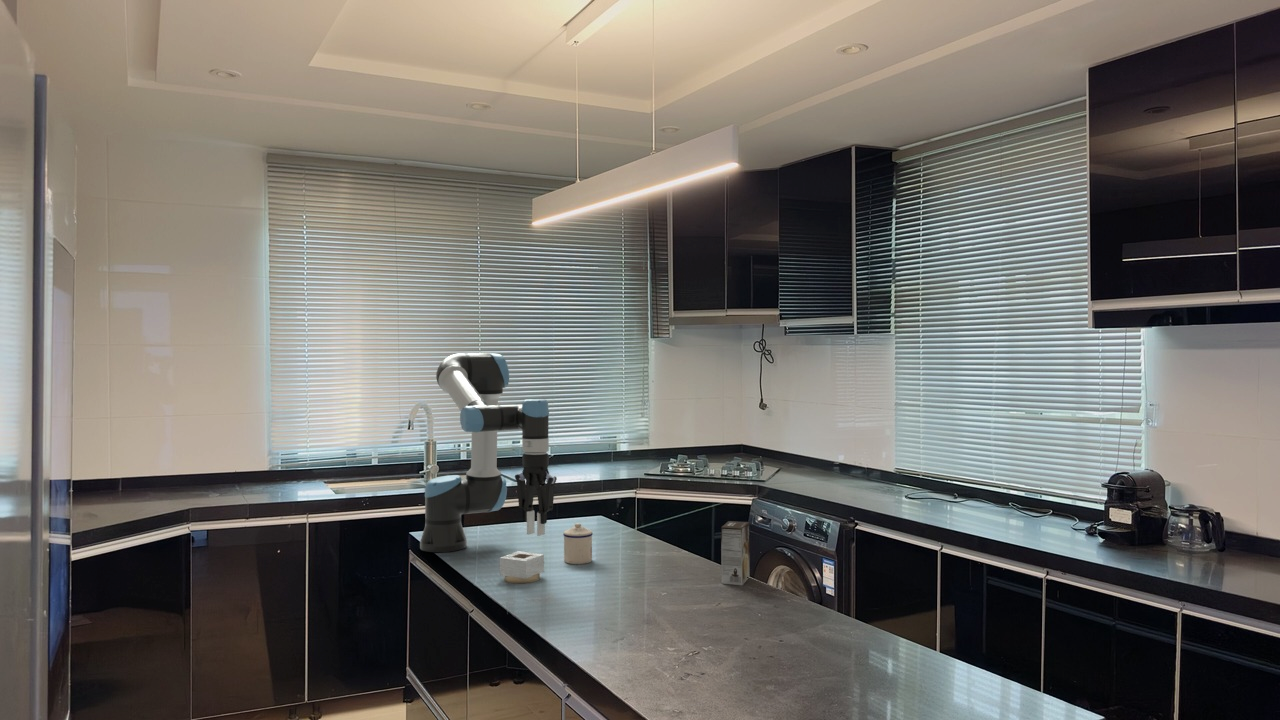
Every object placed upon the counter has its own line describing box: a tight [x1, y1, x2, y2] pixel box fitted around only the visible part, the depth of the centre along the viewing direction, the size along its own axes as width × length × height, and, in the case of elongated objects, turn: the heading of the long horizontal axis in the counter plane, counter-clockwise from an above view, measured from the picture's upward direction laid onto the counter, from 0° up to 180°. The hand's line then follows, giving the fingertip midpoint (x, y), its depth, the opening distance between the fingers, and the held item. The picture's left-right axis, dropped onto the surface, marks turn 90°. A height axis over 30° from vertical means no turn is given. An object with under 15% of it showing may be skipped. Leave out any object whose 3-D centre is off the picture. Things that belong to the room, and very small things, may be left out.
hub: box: [504, 558, 541, 584], centre depth 244 cm, size 10×10×6 cm
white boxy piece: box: [499, 550, 545, 579], centre depth 244 cm, size 9×9×5 cm
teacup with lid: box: [562, 522, 593, 565], centre depth 265 cm, size 12×9×12 cm
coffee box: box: [720, 520, 751, 586], centre depth 241 cm, size 9×6×16 cm
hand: (535, 534), depth 245 cm, fingers open, 3 cm apart
